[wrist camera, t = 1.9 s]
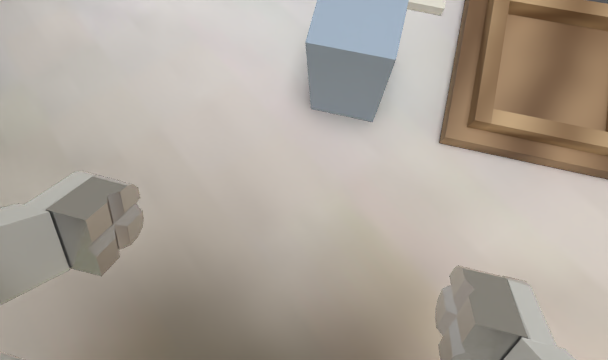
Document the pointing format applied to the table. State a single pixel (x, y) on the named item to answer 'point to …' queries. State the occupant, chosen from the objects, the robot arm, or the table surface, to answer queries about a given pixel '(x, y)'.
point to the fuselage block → (352, 54)
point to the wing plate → (601, 0)
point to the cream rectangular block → (427, 6)
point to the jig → (532, 83)
